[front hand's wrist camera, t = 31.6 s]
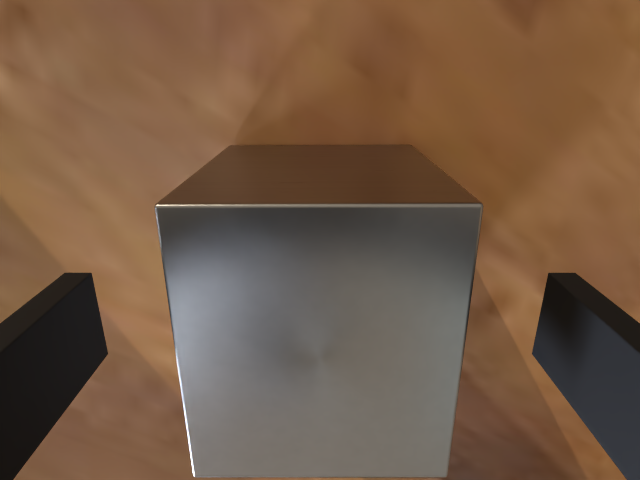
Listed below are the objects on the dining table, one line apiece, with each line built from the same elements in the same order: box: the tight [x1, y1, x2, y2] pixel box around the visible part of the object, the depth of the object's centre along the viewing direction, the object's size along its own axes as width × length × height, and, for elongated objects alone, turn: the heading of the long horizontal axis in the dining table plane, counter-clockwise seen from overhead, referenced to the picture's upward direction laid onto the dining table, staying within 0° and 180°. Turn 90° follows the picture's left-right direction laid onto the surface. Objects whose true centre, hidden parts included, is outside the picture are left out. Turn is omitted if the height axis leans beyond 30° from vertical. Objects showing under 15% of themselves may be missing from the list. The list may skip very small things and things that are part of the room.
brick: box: [155, 145, 483, 478], centre depth 14 cm, size 7×8×8 cm
